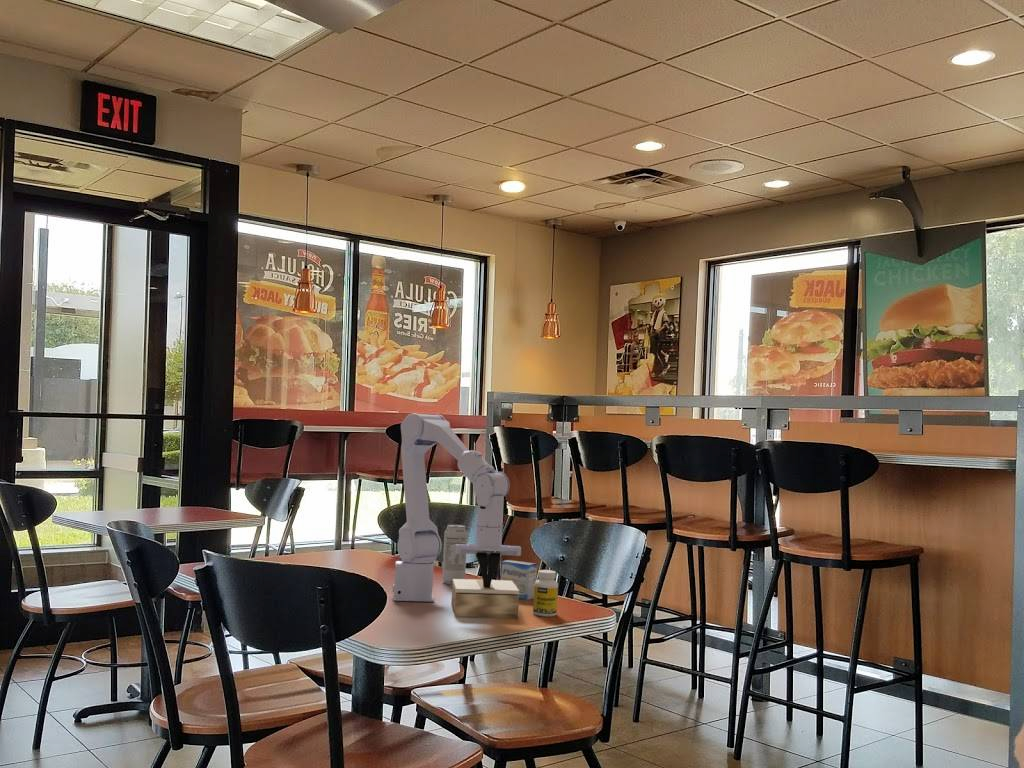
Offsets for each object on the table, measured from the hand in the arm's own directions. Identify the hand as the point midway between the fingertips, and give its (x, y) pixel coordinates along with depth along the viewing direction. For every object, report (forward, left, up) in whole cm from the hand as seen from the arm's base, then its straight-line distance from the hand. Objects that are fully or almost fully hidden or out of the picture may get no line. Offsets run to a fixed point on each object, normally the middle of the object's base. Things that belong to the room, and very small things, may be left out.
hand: (486, 587), depth 211 cm
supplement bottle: (+14, +2, -6) cm, 15 cm away
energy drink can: (-5, +39, -6) cm, 40 cm away
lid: (0, +4, -1) cm, 4 cm away
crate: (0, +4, -6) cm, 7 cm away
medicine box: (+10, +22, -6) cm, 25 cm away
